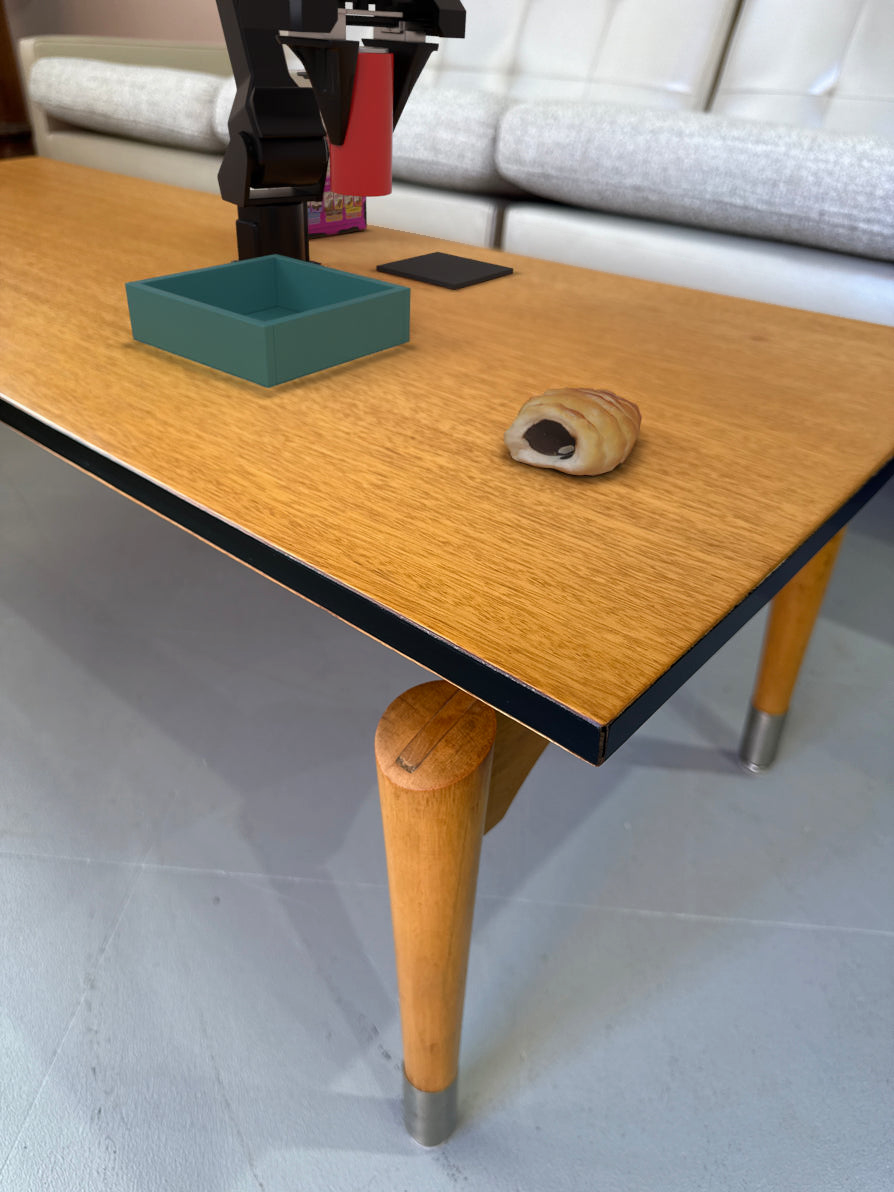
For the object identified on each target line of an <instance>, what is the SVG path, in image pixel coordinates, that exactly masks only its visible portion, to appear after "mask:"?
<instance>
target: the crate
mask: <svg viewBox="0 0 894 1192" xmlns="http://www.w3.org/2000/svg"><path fill="white" fill-rule="evenodd" d="M124 288H125V295H126V300H127V306H128V314H129V321H130V327H131V334H132V339H133V340H134V341H136V342H139V343H142V344H145V345H147V346H151V347H154V348H156V349H159V350H162V351H164V352H167V353H169V354H172V355H175V356H178V357H181V358H184V359H186V360H189V361H192V362H194V363H197V364H200V365H203V366H206V367H209V368H211V369H214V370H217V371H220V372H222V373H225V374H228V375H230V376H233V377H236V378H239V379H242V380H244V381H247V382H249V383H253V384H255V385H257V386H261V387H264V388H267V389H271V388H273V387H276V386H279V385H283V384H285V383H289V382H291V381H294V380H295V381H296V380H297V379H300V378H304V377H307V376H309V375H313V374H316V373H318V372H322V371H325V370H328V369H330V368H331V369H332V368H334V367H337V366H340V365H343V364H346V363H348V362H349V363H350V362H353V361H354V360H355V361H356V360H359V359H361V358H364V357H367V356H370V355H374V354H377V353H379V352H383V351H385V350H388V349H392V348H395V347H398V346H400V345H403V344H406V343H409V342H410V335H411V334H410V329H411V296H412V295H411V291H412V290H411V287H409V286H405V285H401V284H397V283H393V282H390V281H385V280H381V279H377V278H374V277H370V276H366V275H361V274H358V273H357V274H356V273H353V272H349V271H346V270H341V269H337V268H334V267H329V266H325V265H322V264H321V265H317V264H313V263H309V262H305V261H301V260H297V259H293V258H289V257H285V256H281V255H277V254H274V255H269V256H263V257H258V258H253V259H248V260H243V261H237V262H232V263H231V262H228V263H223V264H217V265H216V264H215V265H212V266H206V267H201V268H196V269H191V270H186V271H180V272H175V273H170V274H164V275H160V276H159V275H158V276H155V277H149V278H145V279H138V280H135V281H134V280H133V281H128V282H125V283H124Z"/></svg>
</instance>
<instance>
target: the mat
mask: <svg viewBox="0 0 894 1192" xmlns="http://www.w3.org/2000/svg"><path fill="white" fill-rule="evenodd" d="M375 268H376V269H375V270H376V271H377V272H381V273H383V274H389V275H393V276H397V277H401V278H406V279H410V280H414V281H417V282H422V283H425V284H430V285H435V286H438V287H442V288H446V289H451V290H459V289H461V288H462V289H463V288H466V287H469V286H472V285H476V284H479V283H484V282H487V281H491V280H494V279H497V278H500V277H504V276H508V275H511V274H514V268H513V267H509V266H504V265H499V264H496V263H495V264H494V263H490V262H487V261H483V260H482V261H481V260H478V259H473V258H468V257H464V256H459V255H455V254H450V253H446V252H441V251H435V252H430V253H426V254H421V255H417V256H413V257H408V258H404V259H400V260H395V261H391V262H385V263H382V264H378V265H376V267H375Z"/></svg>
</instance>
